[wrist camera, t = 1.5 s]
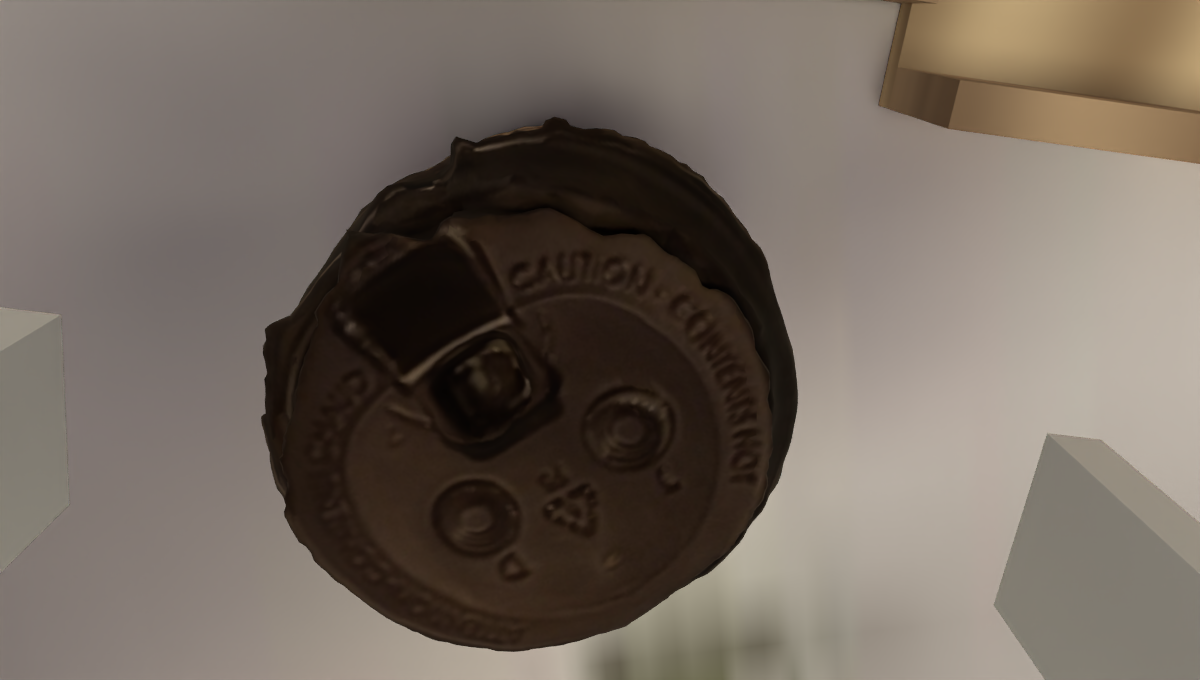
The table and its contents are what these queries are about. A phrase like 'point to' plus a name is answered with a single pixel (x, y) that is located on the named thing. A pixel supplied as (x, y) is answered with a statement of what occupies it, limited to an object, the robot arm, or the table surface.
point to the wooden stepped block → (1053, 71)
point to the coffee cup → (531, 390)
